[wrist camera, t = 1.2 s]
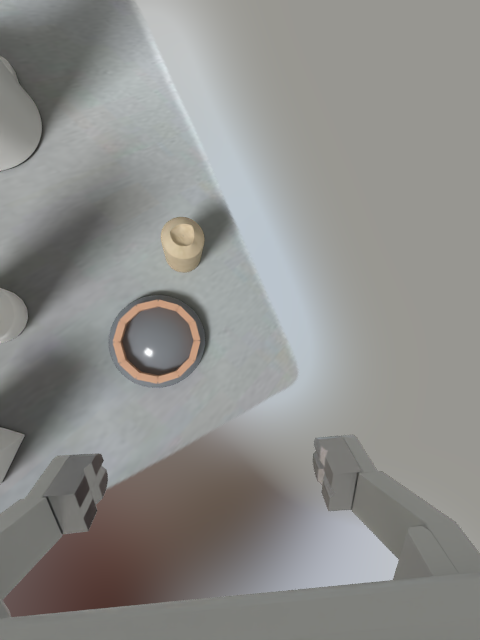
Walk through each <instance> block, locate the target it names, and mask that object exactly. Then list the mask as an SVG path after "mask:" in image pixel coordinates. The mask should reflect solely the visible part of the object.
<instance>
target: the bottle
mask: <svg viewBox="0 0 480 640" xmlns="http://www.w3.org/2000/svg"><path fill="white" fill-rule="evenodd" d="M27 320H28V313H27V308H26V306H25V304H24V302H23V300H22V299H21V298H20V297H18V296H17V295H16V294H15V293H13V292H10V291H8V290H5V289H2V288H0V344H1V343H5V342H8V341H11V340H12V339H14V338H15V337H17V336H19V335H20V333H21V332H22V331H23V329H24V328H25V326H26V323H27Z"/></svg>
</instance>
